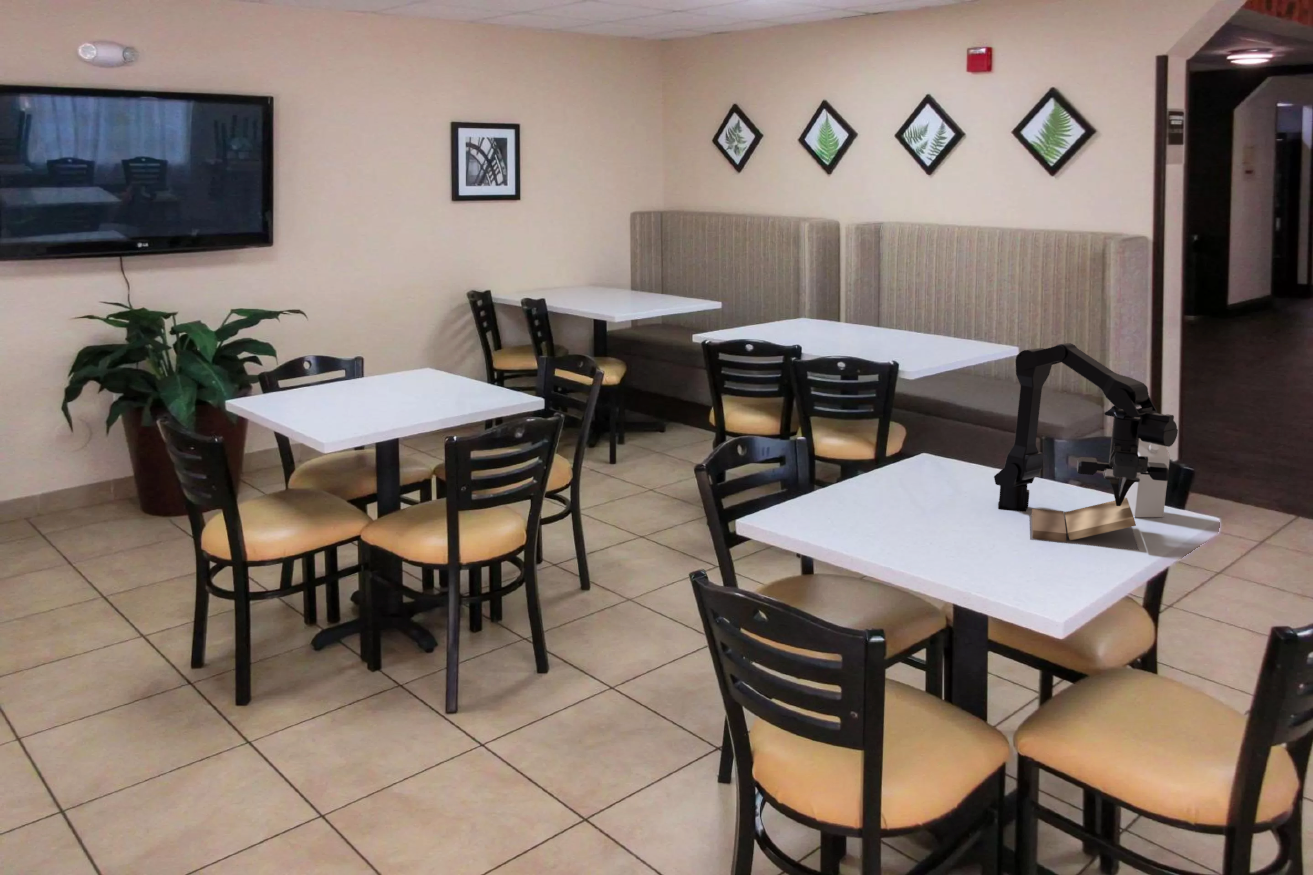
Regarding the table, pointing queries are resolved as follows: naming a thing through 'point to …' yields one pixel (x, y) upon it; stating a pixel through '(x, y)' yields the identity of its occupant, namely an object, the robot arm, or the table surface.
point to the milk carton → (1149, 484)
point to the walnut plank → (1048, 525)
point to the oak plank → (1099, 519)
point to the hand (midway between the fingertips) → (1118, 505)
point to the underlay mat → (1101, 538)
